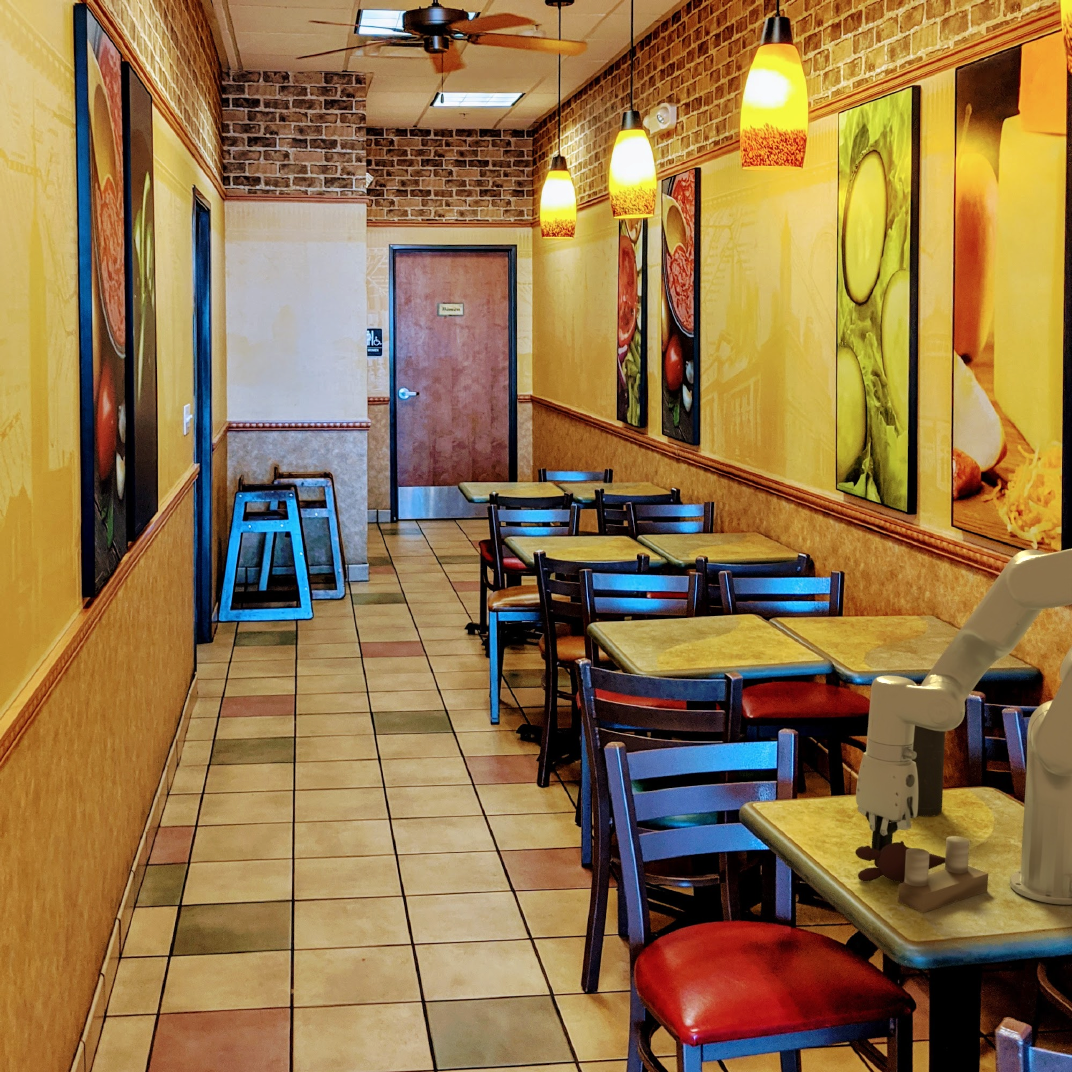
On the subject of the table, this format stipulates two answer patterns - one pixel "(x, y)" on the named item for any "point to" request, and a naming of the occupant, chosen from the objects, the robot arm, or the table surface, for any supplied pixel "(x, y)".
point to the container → (929, 769)
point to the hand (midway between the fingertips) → (880, 854)
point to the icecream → (889, 862)
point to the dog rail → (940, 878)
